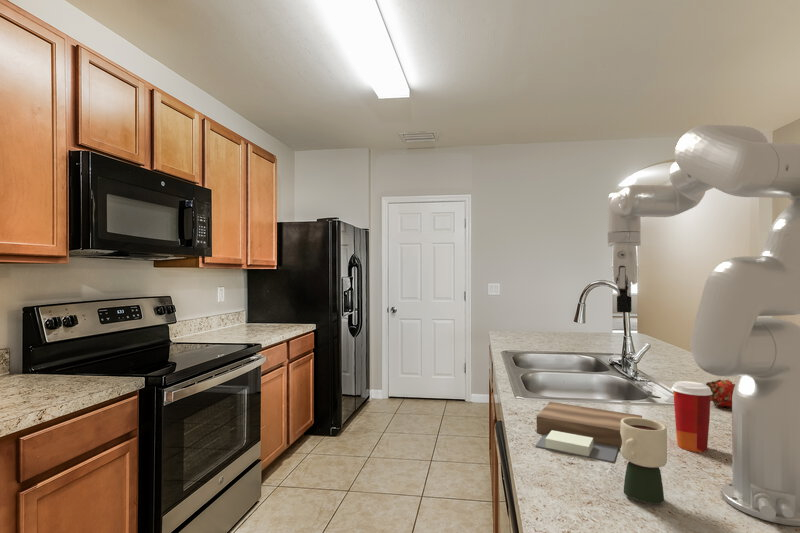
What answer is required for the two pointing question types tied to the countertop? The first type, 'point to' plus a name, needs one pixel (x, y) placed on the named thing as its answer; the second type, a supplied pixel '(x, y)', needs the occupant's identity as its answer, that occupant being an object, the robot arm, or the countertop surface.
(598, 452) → the mat
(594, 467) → the countertop surface
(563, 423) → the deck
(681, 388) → the paper cup
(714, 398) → the dragon fruit
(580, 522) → the countertop surface
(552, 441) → the cream rectangular block
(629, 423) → the character mug
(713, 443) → the countertop surface
